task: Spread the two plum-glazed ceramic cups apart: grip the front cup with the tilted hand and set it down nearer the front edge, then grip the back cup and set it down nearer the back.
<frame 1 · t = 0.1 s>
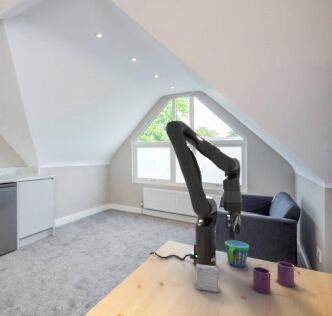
hand: (235, 235, 112), 17 cm above the table, tool pointing down, fingers open, 8 cm apart
plum cup A: (261, 289, 98), on the table
medicine box: (206, 288, 100), on the table
snack cup: (236, 264, 122), on the table
plum cup B: (285, 283, 103), on the table
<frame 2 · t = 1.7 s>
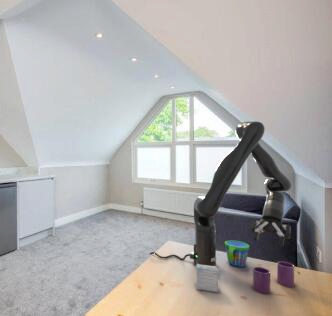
hand: (267, 243, 106), 16 cm above the table, tool tilted 45°, fingers open, 8 cm apart
nothing on the table moved.
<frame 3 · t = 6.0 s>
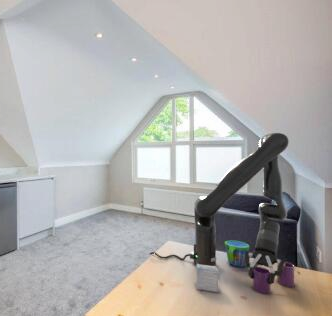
hand: (260, 280, 97), 4 cm above the table, tool tilted 45°, fingers closed on plum cup A, 5 cm apart
plum cup A: (261, 289, 98), on the table, touching gripper
everything else where it was.
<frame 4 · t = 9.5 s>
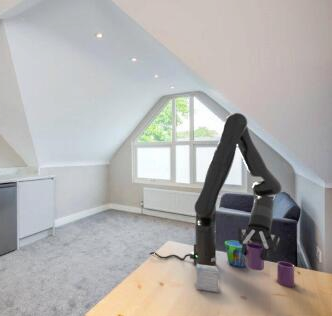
hand: (253, 256, 92), 16 cm above the table, tool tilted 45°, fingers closed on plum cup A, 5 cm apart
plum cup A: (254, 266, 94), point 11 cm above the table, touching gripper
everything else where it was.
when the fingers open (4 cm above the table, at t = 13.4 s): plum cup A stays where it is, on the table.
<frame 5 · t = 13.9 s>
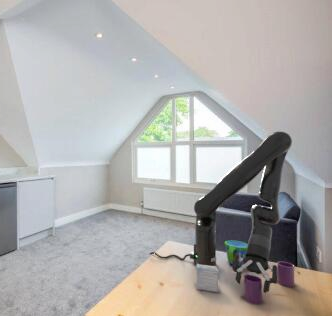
hand: (251, 287, 91), 5 cm above the table, tool tilted 45°, fingers open, 8 cm apart
plum cup A: (252, 299, 92), on the table
everything else where it was.
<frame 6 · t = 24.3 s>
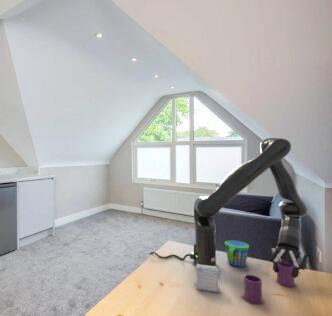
hand: (285, 274, 102), 4 cm above the table, tool tilted 45°, fingers closed on plum cup B, 5 cm apart
plum cup B: (285, 283, 103), on the table, touching gripper
everything else where it was.
when the fingers open (4 cm above the table, at t = 31.5 s): plum cup B stays where it is, on the table.
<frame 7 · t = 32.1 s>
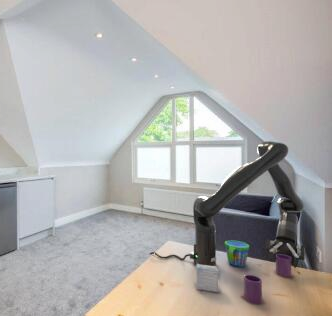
hand: (282, 263, 110), 5 cm above the table, tool tilted 45°, fingers open, 8 cm apart
plum cup B: (283, 274, 111), on the table
everything else where it was.
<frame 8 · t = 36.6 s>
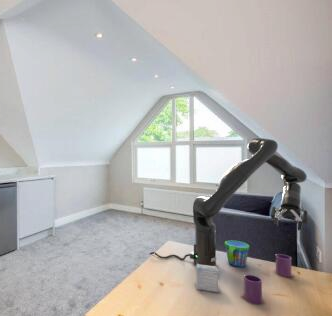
hand: (287, 227, 119), 19 cm above the table, tool tilted 45°, fingers open, 8 cm apart
nothing on the table moved.
at the end: plum cup A inside the target area (0.2 cm from its centre), on the table; plum cup B inside the target area (0.1 cm from its centre), on the table; plum cup A tilted 0° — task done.
